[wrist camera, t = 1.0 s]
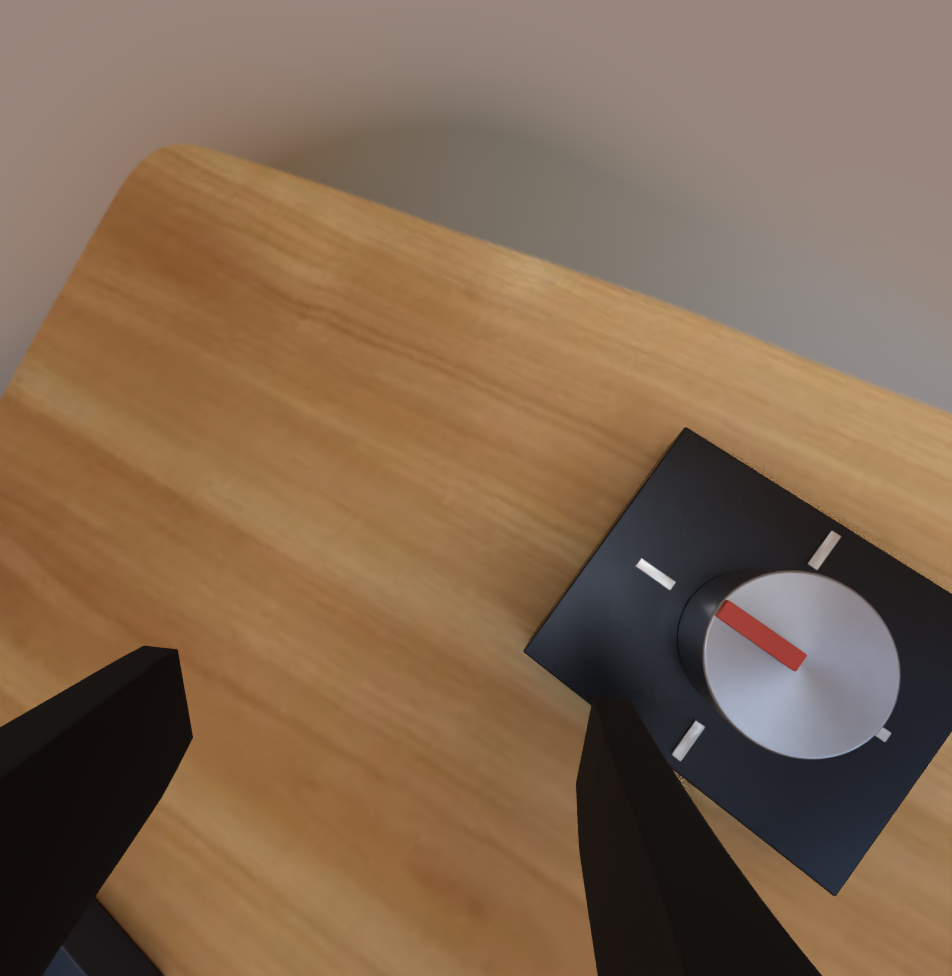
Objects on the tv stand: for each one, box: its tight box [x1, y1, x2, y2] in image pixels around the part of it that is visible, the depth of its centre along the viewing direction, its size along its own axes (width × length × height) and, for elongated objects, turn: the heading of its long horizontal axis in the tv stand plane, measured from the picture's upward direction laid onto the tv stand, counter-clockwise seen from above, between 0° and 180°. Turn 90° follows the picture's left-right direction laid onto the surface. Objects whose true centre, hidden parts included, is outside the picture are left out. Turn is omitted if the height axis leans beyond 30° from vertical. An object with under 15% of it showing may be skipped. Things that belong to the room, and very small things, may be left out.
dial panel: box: [524, 427, 952, 896], centre depth 20 cm, size 12×10×3 cm
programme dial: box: [678, 569, 901, 760], centre depth 16 cm, size 5×5×4 cm
